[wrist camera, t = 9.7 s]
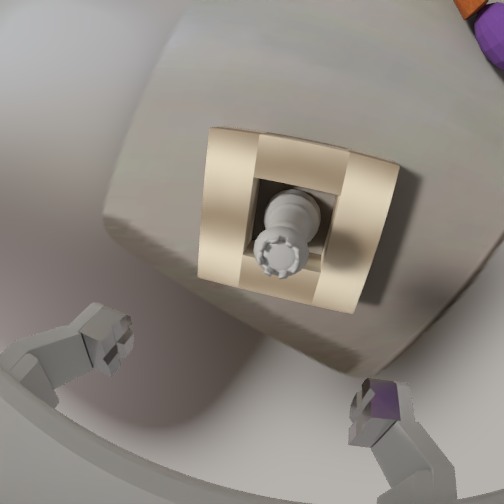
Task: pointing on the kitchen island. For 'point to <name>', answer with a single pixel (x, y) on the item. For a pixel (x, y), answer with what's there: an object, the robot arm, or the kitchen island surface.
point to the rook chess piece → (287, 233)
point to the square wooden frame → (304, 175)
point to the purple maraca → (487, 27)
